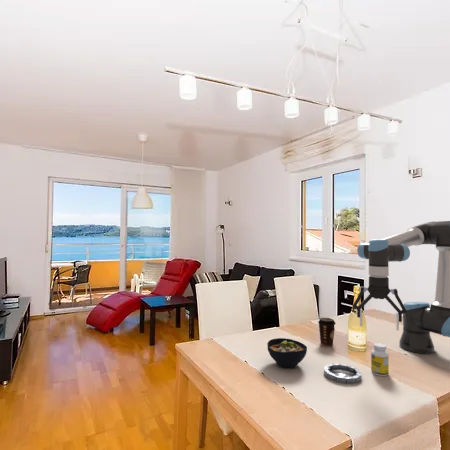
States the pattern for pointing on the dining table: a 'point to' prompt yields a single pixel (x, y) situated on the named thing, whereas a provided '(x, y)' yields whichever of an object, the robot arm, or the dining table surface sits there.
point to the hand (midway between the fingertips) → (378, 327)
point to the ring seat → (342, 373)
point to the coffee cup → (326, 331)
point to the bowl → (286, 352)
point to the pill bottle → (379, 360)
